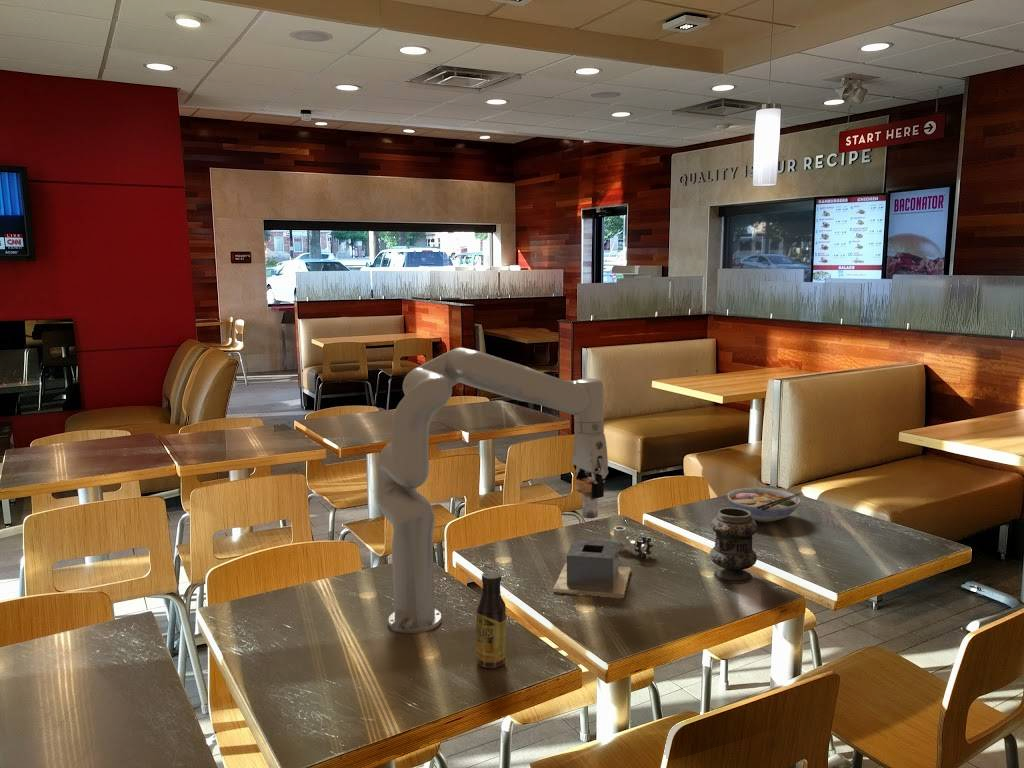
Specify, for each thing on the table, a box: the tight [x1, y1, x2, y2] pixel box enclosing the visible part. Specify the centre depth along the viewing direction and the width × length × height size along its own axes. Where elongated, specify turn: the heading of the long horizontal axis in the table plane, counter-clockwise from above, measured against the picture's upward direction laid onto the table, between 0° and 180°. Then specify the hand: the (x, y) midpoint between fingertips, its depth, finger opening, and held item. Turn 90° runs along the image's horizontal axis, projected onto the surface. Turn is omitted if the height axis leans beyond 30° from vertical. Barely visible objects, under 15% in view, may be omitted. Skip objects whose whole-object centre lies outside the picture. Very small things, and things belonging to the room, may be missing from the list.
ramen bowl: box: [727, 487, 803, 523], centre depth 255 cm, size 25×23×8 cm
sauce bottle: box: [475, 570, 507, 670], centre depth 164 cm, size 7×6×20 cm
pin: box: [575, 476, 599, 519], centre depth 204 cm, size 7×7×10 cm
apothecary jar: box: [709, 507, 758, 584], centre depth 208 cm, size 12×12×18 cm
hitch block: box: [552, 539, 631, 599], centre depth 207 cm, size 18×18×9 cm
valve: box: [612, 525, 654, 560], centre depth 227 cm, size 7×7×12 cm
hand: (589, 493), depth 203 cm, fingers closed on pin, 7 cm apart
